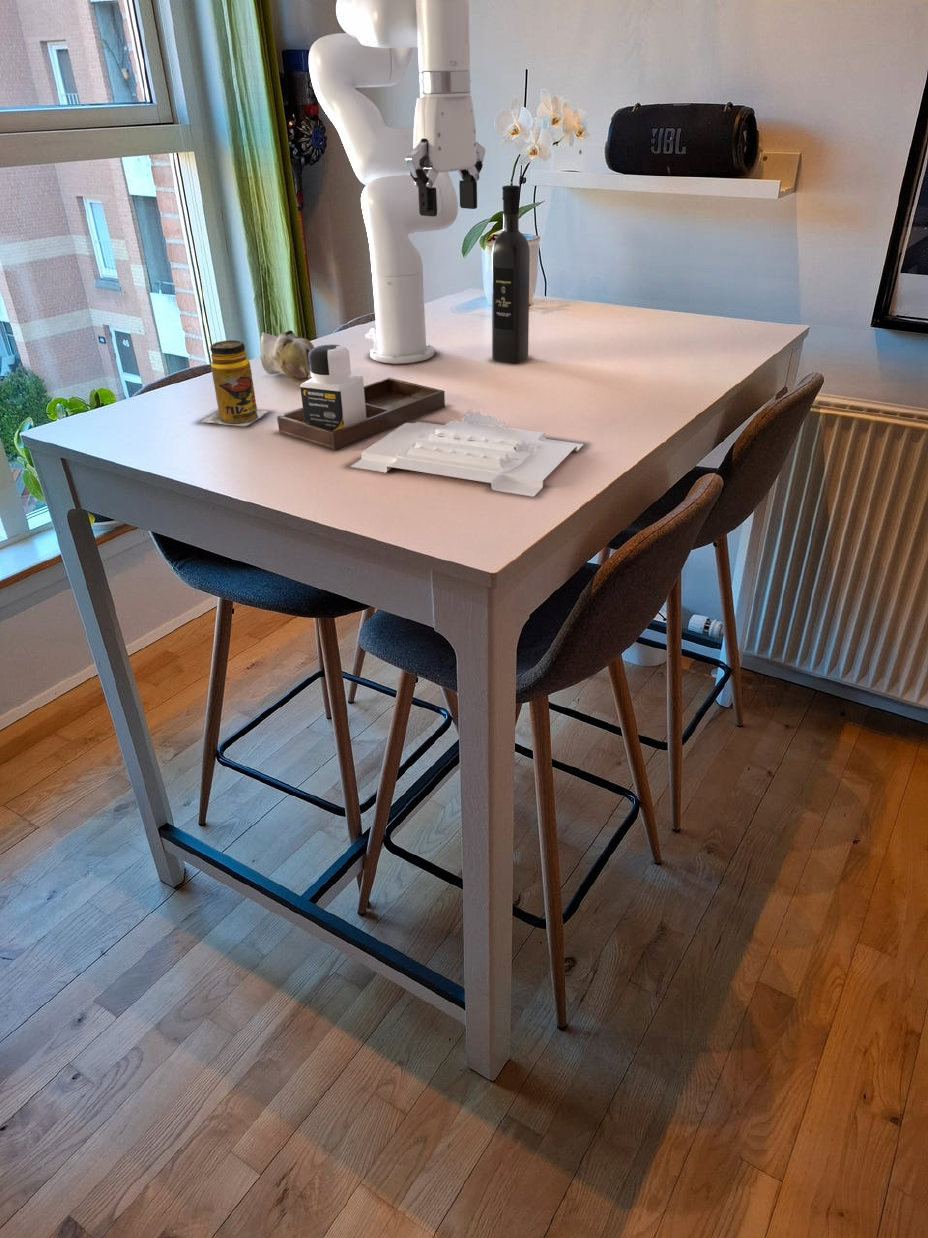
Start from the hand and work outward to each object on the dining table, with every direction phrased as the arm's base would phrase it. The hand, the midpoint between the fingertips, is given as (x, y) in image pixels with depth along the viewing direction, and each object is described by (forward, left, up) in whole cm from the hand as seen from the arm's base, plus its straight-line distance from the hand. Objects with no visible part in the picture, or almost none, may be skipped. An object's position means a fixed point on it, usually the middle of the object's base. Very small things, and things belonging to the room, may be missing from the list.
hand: (448, 211), depth 140 cm
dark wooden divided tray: (-1, -21, -28) cm, 35 cm away
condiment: (-19, -33, -28) cm, 48 cm away
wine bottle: (-3, +20, -28) cm, 35 cm away
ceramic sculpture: (-28, -12, -28) cm, 42 cm away
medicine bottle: (-1, -27, -28) cm, 39 cm away
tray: (+23, -23, -28) cm, 43 cm away
